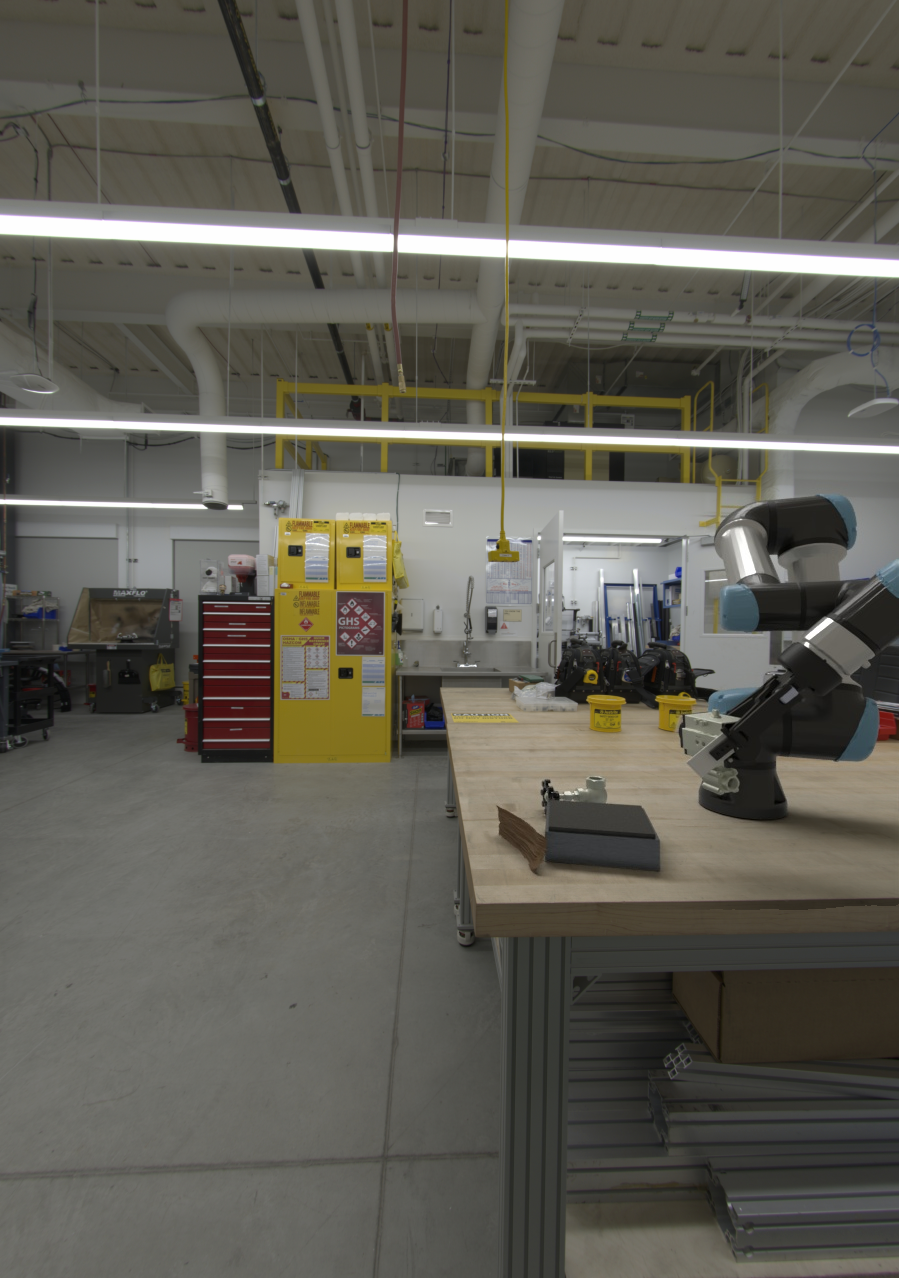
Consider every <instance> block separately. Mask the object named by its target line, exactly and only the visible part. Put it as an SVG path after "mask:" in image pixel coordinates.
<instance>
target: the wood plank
mask: <svg viewBox="0 0 899 1278" xmlns="http://www.w3.org/2000/svg"><path fill="white" fill-rule="evenodd" d="M496 809H497V816H498V817H497V819H498V822H499V823H498V835H499V836H501V837H502V838H503V839H505V840H506V841H507V842H509V843H510V845H512V846H513V847H514V848H516V849H517V850H519V851H520V852H521V855H522V856H523V858H524V859H526V861H527V862H528V867H529V868H530V871H531V872H533V873H534V874H537V871H536V870H537V868H538V867H539V866H540V865H541V864H543V861H544V859H545V852H546V850H547V838H546V837H545V835H542V834H541V833H539V832H537V830H536V829H535V828H534V827H533V826H532V825H531V824H530V823H529V822H527V821H525V819H522V818H521V817H519V816H517V815H515V814H514V813H512V812H511V811H509V810H507V809H506V808H505V809H504V808H502V807H500V806H499V805H496Z"/></svg>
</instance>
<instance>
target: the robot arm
mask: <svg viewBox="0 0 899 1278" xmlns="http://www.w3.org/2000/svg"><path fill="white" fill-rule="evenodd" d="M857 527H858V523H857V516H856V512H855V509H854V507H853V504H852V503H851V501H850V500H849V499H848V498H847V497H846V496H844V495H842V494H839V493H837V494H823V493H820V494H815V495H812V496H801V497H799V496H798V497H789V498H788V497H787V498H779V499H769V500H766V499H765V500H758V501H754V502H750V503H748V504H745V505H743V506H741V507H739V508H737V509H735V510H733V511H732V512H731V513H729V514H728V515H726V517H725V518H724V519H723V520H722V521H721V522H720V523H719V525H717V529H716V530H715V533H714V536H713V537H714V538H713V545H714V546H713V547H714V550H715V552H716V554H717V556H718V557H719V558H720V559H721V560H722V561H723V566H724V570H725V576H726V579H727V585H726V586H723V587H722V588H721V589H720V592H719V607H718V608H719V625H720V627H721V628H722V629H723V630H724V631H727V632H743V633H747V634H748V633H755V632H756V633H757V632H760V633H761V632H791V641H792V642H791V644H790V645H789V646H787V647H786V648H785V649H784V650H783V651H781V653H779V654H778V655H777V656H776V661H777V662H778V664H780V666H782V668H784V669H785V670H786V671H785V672H784V673H783V674H781V675H780V676H778V674H775V675H772V676H771V677H770V678H768V679H767V680H766V681H765V682H764V683H763V685H761V686H753V687H750V686H749V687H739V688H738V687H737V688H729V689H723V690H722V689H721V690H718V691H715V692H713V693H712V694H710V696H709V698H708V705H707V712H712V710H713V709H717V710H719V714H722V715H727V716H733V717H738V718H740V719H739V720H738V721H737V722H736V723H735V724H734V725H733V726H732V727H731V728H730V729H729V730H728V729H727V728H726V727H724V728H721V730H720V731H721V732H722V733H721V734H720V735H719V736H718V737H716V738H715V739H714V740H713V741H711V742H710V743H709V744H708V745H707V746H705V747H704V748H703V749H702V750H700V751H699V752H698V753H697V754H695V755H694V756H693V757H692V756H691V757H690V758H689V759H688V760H687V761H686V762H685V763H686V765H688V766H689V768H691V770H692V771H694V773H695V774H696V775H698V776H699V777H700V778H701V779H702V777H703V776H705V775H706V774H707V773H708V772H710V771H711V770H712V769H714V768H715V767H716V766H717V765H719V764H720V763H721V762H722V761H724V760H725V759H726V758H728V757H729V756H730V755H731V754H733V753H734V748H735V747H736V746H737V750H738V749H739V748H741V747H743V748H746V747H748V746H749V745H750V744H751V743H752V742H753V741H754V740H755V739H756V738H757V737H758V736H759V737H760V739H761V743H762V748H761V752H760V754H759V756H758V757H757V758H756V759H755V760H756V764H755V765H748V766H741V767H734V768H733V769H736V770H737V772H738V774H737V775H736V777H737V778H738V780H739V787H738V789H739V791H738V792H736V793H734V792H728V793H724V794H722V795H719V794H717V793H714V792H712V791H709V790H707V789H704V788H703V786H702V784H703V783H704V781H703V779H702V780H701V782H700V784H699V785H700V786H699V788H698V803H699V804H700V805H701V806H702V807H703V808H706V809H708V810H710V811H713V812H715V813H719V814H723V815H726V816H731V817H735V818H743V819H749V820H751V819H752V820H777V819H782V818H785V817H786V816H788V813H789V812H788V799H787V798H786V797H787V796H786V794H785V791H784V789H783V786H782V784H781V783H782V782H781V781H780V778H779V775H778V772H777V757H783V758H784V757H785V758H797V759H798V758H799V759H807V760H808V759H810V760H811V759H812V760H821V761H833V762H835V763H838V762H839V763H840V762H854V763H855V762H857V763H858V762H862V761H864V760H866V759H868V758H869V757H870V756H871V755H872V753H873V751H874V749H875V746H876V744H877V740H878V736H879V730H880V712H879V711H880V710H879V707H878V703H877V701H876V700H875V699H873V698H870V697H869V696H865V697H864V695H863V693H864V692H863V687H862V685H861V684H859V683H858V682H857V681H855V680H853V678H852V677H851V676H852V675H853V674H854V673H855V672H856V671H858V670H859V669H860V668H864V669H868V668H869V667H871V663H870V661H869V660H871V659H873V658H874V657H875V656H877V655H878V654H880V653H881V652H883V651H884V650H885V649H886V648H888V647H889V646H890V645H892V644H893V643H894V642H896V641H897V640H898V639H899V558H896V559H893V560H892V561H891V562H889V563H887V565H884V566H883V567H882V568H881V569H878V570H876V572H875V573H874V575H873V576H872V577H870V578H868V579H862V578H861V579H859V578H858V579H848V580H841V575H840V565H839V564H840V563H841V561H843V560H844V559H845V558H846V557H847V555H848V551H849V550H851V549H853V547H854V545H855V544H856V540H857V537H858V536H857V535H858V532H857V531H858V530H857ZM771 556H777V563H778V565H779V566H780V567H781V568H784V569H785V570H787V571H786V572H787V582H781V579H780V577H779V574H778V571H777V570H776V567H775V566H774V563H773V561H772V558H771Z"/></svg>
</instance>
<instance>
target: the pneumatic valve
mask: <svg viewBox="0 0 899 1278" xmlns="http://www.w3.org/2000/svg"><path fill="white" fill-rule="evenodd" d="M681 717H682V718H681V719H682V721H681V722H680V724H679V726H678V736H679V737H678V738H679V740H680V741H679V742H680V744H679V745H680V748H681V749H683V750H684V751H683V752H684V755H687V756H690V757H691V758H692V757H693V756H694V755H695V754H697V753H698V752H699V751H700V750H702V749H703V748H704V747H705V746H707V745H708V744H709V743H710V742H711V741H713V740H714V739H715V738H716V737H718V736H719V735H720V734H721V733H722V732H721V731H720V730H721V728H724V727H726V728H727V729H728V730H729V729H730V728H731V727H732V726H733V725H734V724H735V723H736V722H737V721H738V720H739V719H740V718H738V717H733V716H727V715H722V714H719V710H717V709H713V710H712V712H708V711H701V712H693V713H692V712H691V713H684V714H682V715H681ZM761 748H762V743H761V739H760V737H759V736H758V737H757V738H756V739H755V740H754V741H753V742H752V743H751V744H750V745H749V746H748V747H746V748H743V747H741V748H739V749H738V750H737V746H736V747H735V748H734V753H733V754H731V755H730V756H729V757H728V758H726V759H725V760H724V761H722V762H721V763H720V764H719V765H717V766H716V767H715V768H714V769H712V770H711V771H710V772H708V773H707V774H706V775H705V776H703V777H702V778H701V779H702V780H703V781H704V783H703V784H702V786H703V788H704V789H707V790H709V791H712V792H714V793H717V794H719V795H722V794H724V793H728V792H734V793H736V792H738V791H739V789H738V787H739V780H738V778H737V777H736V775H737V774H738V772H737V770H736V769H733V768H734V767H741V766H748V765H755V764H756V760H755V759H756V758H757V757H758V756H759V754H760V752H761Z"/></svg>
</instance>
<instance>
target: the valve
mask: <svg viewBox="0 0 899 1278" xmlns="http://www.w3.org/2000/svg"><path fill="white" fill-rule="evenodd" d="M606 781H607V780H606V778H605V777H603V776H599V775H590V776H587V777H586V778H585V785H586V786H585V787H586V788H585V789H583V787H576V788H575V790H573V791H570V790H568V791H565V790H564V791H562V793H560V792H559V791H558V790H556V791H555V788H554V786H552V785H551V786H550V785H549V784H551V783H552V782H551V779H550V778H546V779H544V780H541V787H542V789H540V795H541V797H542V800H541V807H542V808H544V809H543V811H544V812H543V813H544V815H546V811H547V802H550V800H560V801H561V800H562V801H576V802H592V803H607V800H608V791H607V789H606V784H607V783H606Z"/></svg>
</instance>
